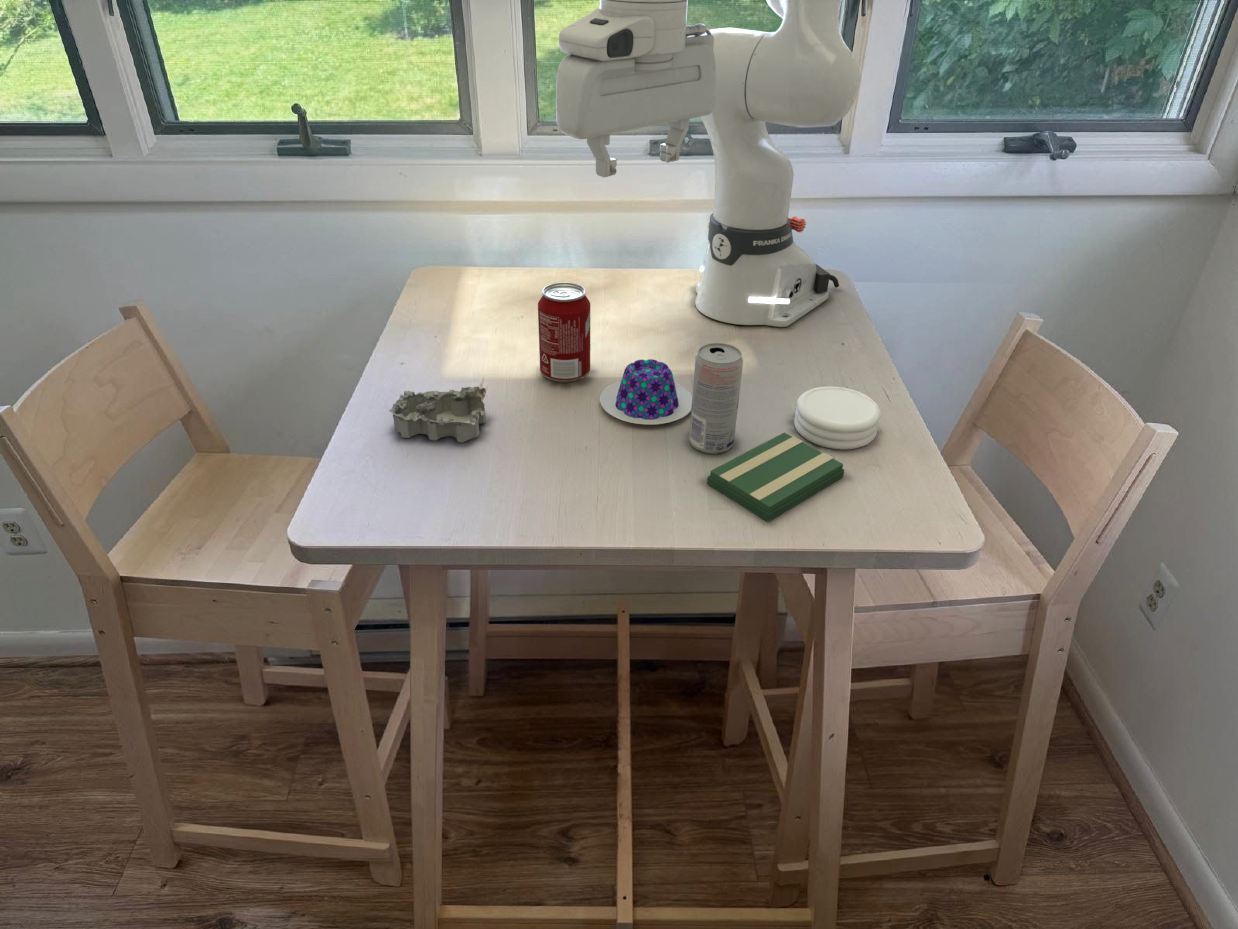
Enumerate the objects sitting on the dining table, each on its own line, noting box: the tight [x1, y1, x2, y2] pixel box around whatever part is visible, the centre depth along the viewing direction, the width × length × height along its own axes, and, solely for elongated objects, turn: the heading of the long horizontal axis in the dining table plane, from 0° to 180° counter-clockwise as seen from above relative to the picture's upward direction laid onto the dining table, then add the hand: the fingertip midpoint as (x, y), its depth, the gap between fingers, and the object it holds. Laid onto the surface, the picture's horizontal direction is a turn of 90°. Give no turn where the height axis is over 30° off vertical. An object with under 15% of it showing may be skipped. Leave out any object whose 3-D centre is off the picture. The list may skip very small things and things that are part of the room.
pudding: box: [599, 358, 693, 425], centre depth 110 cm, size 12×12×5 cm
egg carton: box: [388, 386, 487, 443], centre depth 105 cm, size 11×8×4 cm
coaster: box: [793, 385, 881, 450], centre depth 106 cm, size 10×10×4 cm
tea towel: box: [706, 432, 845, 522], centre depth 97 cm, size 13×9×2 cm
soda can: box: [537, 281, 591, 384], centre depth 114 cm, size 7×7×12 cm
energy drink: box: [688, 342, 744, 455], centre depth 101 cm, size 5×5×12 cm
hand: (638, 167), depth 96 cm, fingers open, 8 cm apart
